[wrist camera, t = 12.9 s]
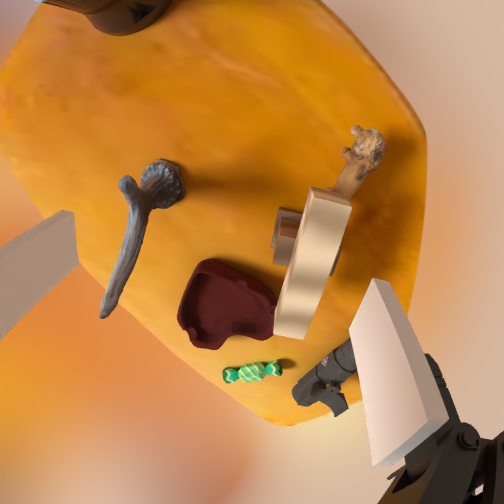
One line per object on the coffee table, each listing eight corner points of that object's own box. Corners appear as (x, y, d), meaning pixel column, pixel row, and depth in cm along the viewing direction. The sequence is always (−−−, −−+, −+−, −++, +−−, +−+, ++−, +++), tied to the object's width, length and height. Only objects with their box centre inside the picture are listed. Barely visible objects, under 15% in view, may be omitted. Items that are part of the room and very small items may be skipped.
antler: (136, 172, 41) (17, 231, 19) (175, 148, 39) (58, 189, 17) (169, 233, 45) (82, 333, 23) (210, 215, 43) (135, 317, 21)
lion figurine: (344, 119, 34) (360, 118, 26) (377, 135, 35) (400, 140, 27) (305, 210, 41) (309, 233, 33) (337, 224, 41) (348, 249, 33)
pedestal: (279, 207, 41) (277, 226, 34) (337, 221, 41) (347, 243, 34) (270, 244, 44) (267, 269, 37) (326, 256, 44) (333, 283, 37)
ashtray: (255, 238, 44) (251, 252, 40) (288, 317, 50) (288, 336, 46) (162, 269, 49) (151, 284, 44) (203, 337, 55) (196, 354, 50)
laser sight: (385, 333, 50) (398, 370, 41) (316, 393, 59) (317, 428, 50) (350, 314, 48) (360, 353, 39) (282, 380, 58) (280, 416, 49)
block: (310, 186, 31) (314, 197, 27) (343, 194, 31) (352, 207, 27) (275, 310, 39) (273, 334, 35) (302, 316, 39) (303, 339, 35)
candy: (276, 357, 53) (278, 376, 51) (281, 359, 56) (283, 377, 54) (222, 365, 56) (223, 384, 54) (228, 367, 59) (230, 385, 57)
